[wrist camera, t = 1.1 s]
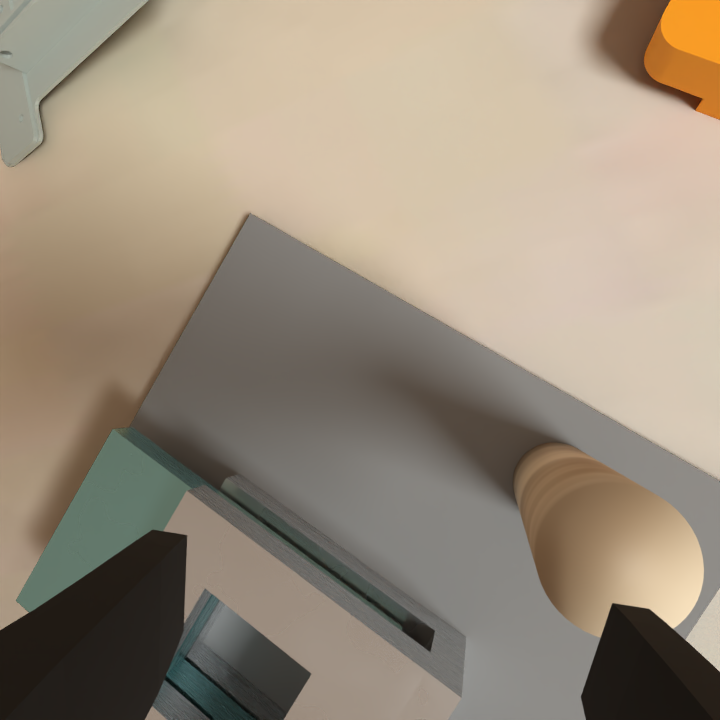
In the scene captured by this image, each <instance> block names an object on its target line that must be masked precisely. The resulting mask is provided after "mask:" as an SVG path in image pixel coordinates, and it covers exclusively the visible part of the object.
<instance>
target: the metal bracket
mask: <svg viewBox="0 0 720 720" xmlns="http://www.w3.org/2000/svg"><path fill="white" fill-rule="evenodd" d="M147 1H148V0H0V149H1V154H2V159H3V161H4V163H5V164H6V165H7V166H8V167H14V166H15V165H16V164H18V163H19V162H20V161H21V160H22V159H23V158H25V157H26V156H27V155H28V154H29V153H30V152H32V151H33V150H34V149H35V148H36V147H38V146H39V145H40V144H41V142H42V140H43V130H42V125H41V120H40V114H39V103H40V101H41V99H42V98H43V97H45V96H46V95H47V94H48V93H49V92H50V91H51V90H52V89H53V88H54V87H55V86H56V85H58V84H59V83H60V82H61V81H62V80H63V79H64V78H65V77H66V76H67V75H68V74H69V73H71V72H72V71H73V70H74V69H75V68H76V67H77V66H78V65H79V64H80V63H81V62H82V61H84V60H85V59H86V58H87V57H88V56H89V55H90V54H91V53H92V52H93V51H94V50H95V49H97V48H98V47H99V46H100V45H101V44H102V43H103V42H104V41H105V40H106V39H107V38H108V37H110V36H111V35H112V34H113V33H114V32H115V31H116V30H117V29H118V28H119V27H120V26H121V25H123V24H124V23H125V22H126V21H127V20H128V19H129V18H130V17H131V16H132V15H133V14H134V13H136V12H137V11H138V10H139V9H140V8H141V7H142V6H143V5H144V4H145V3H146V2H147Z"/></svg>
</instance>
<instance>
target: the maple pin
mask: <svg viewBox="0 0 720 720" xmlns="http://www.w3.org/2000/svg"><path fill="white" fill-rule="evenodd" d="M513 490H514V494H515V498H516V501H517V504H518V508H519V511H520V515H521V518H522V522H523V525H524V528H525V532H526V535H527V539H528V542H529V545H530V549H531V552H532V556H533V559H534V563H535V566H536V569H537V573H538V576H539V579H540V582H541V585H542V587H543V589H544V591H545V593H546V595H547V596H548V598H549V600H550V601H551V603H552V604H553V605H554V606H555V608H556V609H557V610H558V611H559V612H560V613H561V614H562V615H563V616H564V617H565V618H566V619H567V620H569V621H570V622H571V623H572V624H574V625H575V626H577V627H578V628H580V629H582V630H583V631H585V632H587V633H590V634H592V635H594V636H597V637H600V638H601V635H602V632H603V629H604V626H605V623H606V620H607V617H608V614H609V611H610V608H611V605H612V603H616V604H622V605H629V606H635V607H641V608H648V609H650V610H651V611H653V612H654V613H655V614H656V615H657V616H659V617H660V618H661V619H662V620H663V621H665V622H666V623H667V624H668V625H669V626H670V627H671V628H675V627H676V626H678V625H679V624H680V623H681V622H682V621H683V620H684V619H685V618H686V617H687V616H688V615H689V613H690V612H691V611H692V609H693V608H694V606H695V604H696V602H697V600H698V598H699V595H700V592H701V589H702V584H703V578H704V564H703V556H702V552H701V548H700V545H699V542H698V540H697V537H696V535H695V534H694V532H693V530H692V528H691V527H690V525H689V524H688V522H687V521H686V519H685V518H684V517H683V516H682V515H681V514H680V513H679V512H678V510H676V509H675V508H674V507H673V506H672V505H671V504H669V503H668V502H667V501H665V500H664V499H662V498H661V497H659V496H658V495H656V494H654V493H653V492H651V491H649V490H647V489H646V488H644V487H642V486H641V485H639V484H637V483H635V482H634V481H632V480H630V479H629V478H627V477H625V476H623V475H622V474H620V473H618V472H617V471H615V470H613V469H611V468H610V467H608V466H606V465H605V464H603V463H601V462H599V461H598V460H596V459H594V458H593V457H591V456H589V455H587V454H586V453H584V452H582V451H581V450H579V449H577V448H575V447H573V446H570V445H568V444H563V443H545V444H541V445H538V446H536V447H534V448H532V449H530V450H529V451H528V452H526V453H525V454H524V455H523V456H522V457H521V459H520V460H519V462H518V464H517V465H516V468H515V471H514V475H513Z"/></svg>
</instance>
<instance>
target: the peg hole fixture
mask: <svg viewBox="0 0 720 720" xmlns="http://www.w3.org/2000/svg"><path fill="white" fill-rule="evenodd" d="M151 530H159V531H165V532H171V533H177V534H184V535H187V557H186V582H185V608H184V631H183V634H182V636H181V639H180V642H179V644H178V647H177V649H176V652H175V654H174V657H173V659H172V662H171V664H170V667H169V669H168V672H167V674H166V677H165V679H164V681H163V684H162V686H161V689H160V691H159V693H158V695H157V697H156V699H155V701H154V703H153V705H152V707H151V709H150V711H149V713H148V715H147V717H146V718H145V720H448V719H449V717H450V715H451V714H452V712H453V711H454V709H455V708H456V706H457V705H458V703H459V701H460V700H461V698H462V687H463V674H464V661H465V649H466V636H464V635H463V634H462V633H460V632H459V631H457V630H456V629H455V628H453V627H452V626H450V625H449V624H448V623H446V622H445V621H444V620H442V619H441V618H439V617H438V616H437V615H435V614H434V613H432V612H431V611H430V610H428V609H427V608H426V607H424V606H423V605H421V604H420V603H419V602H417V601H416V600H414V599H413V598H412V597H410V596H409V595H408V594H406V593H405V592H403V591H402V590H401V589H399V588H398V587H396V586H395V585H394V584H392V583H391V582H390V581H388V580H387V579H385V578H384V577H383V576H381V575H380V574H378V573H377V572H376V571H374V570H373V569H372V568H370V567H369V566H367V565H366V564H365V563H363V562H362V561H360V560H359V559H358V558H356V557H355V556H354V555H352V554H351V553H349V552H348V551H347V550H345V549H344V548H342V547H341V546H340V545H338V544H337V543H336V542H334V541H333V540H331V539H330V538H329V537H327V536H326V535H324V534H323V533H322V532H320V531H319V530H317V529H316V528H315V527H313V526H312V525H311V524H309V523H308V522H306V521H305V520H304V519H302V518H301V517H299V516H298V515H297V514H295V513H294V512H293V511H291V510H290V509H288V508H287V507H286V506H284V505H283V504H281V503H280V502H279V501H277V500H276V499H275V498H273V497H272V496H270V495H269V494H268V493H266V492H265V491H263V490H262V489H261V488H259V487H258V486H257V485H255V484H254V483H252V482H251V481H250V480H248V479H247V478H245V477H244V476H243V475H241V474H237V475H234V476H231V477H228V478H226V479H225V481H224V483H223V484H222V486H221V488H220V489H219V491H218V490H217V489H216V488H214V487H213V486H212V485H210V484H209V483H208V482H206V481H205V480H204V479H202V478H201V477H200V476H198V475H197V474H195V473H194V472H193V471H191V470H190V469H189V468H187V467H186V466H185V465H183V464H182V463H181V462H179V461H178V460H177V459H175V458H174V457H173V456H171V455H170V454H168V453H167V452H166V451H164V450H163V449H162V448H160V447H159V446H158V445H156V444H155V443H154V442H152V441H151V440H150V439H148V438H147V437H146V436H144V435H143V434H141V433H140V432H139V431H137V430H136V429H135V428H133V427H129V428H119V429H112V431H111V433H110V435H109V437H108V438H107V440H106V442H105V444H104V445H103V447H102V449H101V451H100V452H99V454H98V456H97V458H96V460H95V461H94V463H93V465H92V467H91V468H90V470H89V472H88V474H87V476H86V477H85V479H84V481H83V483H82V484H81V486H80V488H79V490H78V491H77V493H76V495H75V497H74V499H73V500H72V502H71V504H70V506H69V507H68V509H67V511H66V513H65V514H64V516H63V518H62V520H61V522H60V523H59V525H58V527H57V529H56V530H55V532H54V534H53V536H52V537H51V539H50V541H49V543H48V545H47V546H46V548H45V550H44V552H43V553H42V555H41V557H40V559H39V561H38V562H37V564H36V566H35V568H34V569H33V571H32V573H31V575H30V576H29V578H28V580H27V582H26V584H25V585H24V587H23V589H22V591H21V592H20V594H19V596H18V598H17V599H16V601H17V602H18V603H19V604H20V605H21V606H22V607H23V608H25V609H26V610H27V611H28V612H31V611H33V610H34V609H36V608H37V607H39V606H40V605H42V604H43V603H45V602H46V601H48V600H49V599H51V598H52V597H54V596H55V595H57V594H58V593H60V592H61V591H63V590H64V589H66V588H67V587H69V586H70V585H72V584H73V583H75V582H76V581H78V580H79V579H81V578H82V577H84V576H85V575H87V574H88V573H90V572H91V571H93V570H94V569H95V568H97V567H98V566H100V565H101V564H103V563H104V562H106V561H107V560H108V559H110V558H111V557H113V556H114V555H116V554H117V553H119V552H120V551H122V550H123V549H124V548H126V547H127V546H129V545H130V544H132V543H133V542H135V541H136V540H138V539H139V538H141V537H142V536H144V535H145V534H147V533H148V532H150V531H151ZM225 605H227V606H228V607H229V608H230V609H232V610H233V611H234V612H235V613H237V614H238V615H239V616H240V617H242V618H243V619H244V620H245V621H247V622H248V623H249V624H250V625H251V626H253V627H254V628H255V629H256V630H258V631H259V632H260V633H261V634H263V635H264V636H265V637H266V638H268V639H269V640H270V641H271V642H273V643H274V644H275V645H276V646H278V647H279V648H280V649H281V650H283V651H284V652H285V653H286V654H288V655H289V656H290V657H291V658H293V659H294V660H295V661H296V662H298V663H299V664H300V665H301V666H303V667H304V668H305V669H306V670H308V671H309V672H310V673H311V676H310V678H309V679H308V681H307V682H306V684H305V686H304V687H303V689H302V691H301V692H300V694H299V695H298V697H297V699H296V700H295V702H294V704H293V705H292V707H291V708H290V710H289V712H288V713H287V712H286V711H285V710H283V709H282V708H281V707H280V706H279V705H278V704H276V703H275V702H274V701H273V700H272V699H270V698H269V697H268V696H267V695H266V694H264V693H263V692H262V691H261V690H260V689H258V688H257V687H256V686H255V685H254V684H252V683H251V682H250V681H249V680H248V679H246V678H245V677H244V676H243V675H242V674H240V673H239V672H238V671H237V670H236V669H234V668H233V667H232V666H231V665H230V664H228V663H227V662H226V661H225V660H224V659H222V658H221V657H220V656H219V655H218V654H216V653H215V652H214V651H213V650H212V649H210V648H209V647H208V646H207V645H206V644H204V643H203V641H204V639H205V638H206V636H207V634H208V633H209V631H210V629H211V628H212V626H213V624H214V622H215V621H216V619H217V617H218V616H219V614H220V612H221V611H222V609H223V607H224V606H225Z"/></svg>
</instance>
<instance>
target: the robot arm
mask: <svg viewBox="0 0 720 720" xmlns="http://www.w3.org/2000/svg"><path fill="white" fill-rule="evenodd" d="M186 557H187V535H184V534H177V533H171V532H165V531H159V530H151V531H150V532H148V533H147V534H145V535H144V536H142V537H141V538H139V539H138V540H136V541H135V542H133V543H132V544H130V545H129V546H127V547H126V548H124V549H123V550H122V551H120V552H119V553H117V554H116V555H114V556H113V557H111V558H110V559H108V560H107V561H106V562H104V563H103V564H101V565H100V566H98V567H97V568H95V569H94V570H93V571H91V572H90V573H88V574H87V575H85V576H84V577H82V578H81V579H79V580H78V581H76V582H75V583H73V584H72V585H70V586H69V587H67V588H66V589H64V590H63V591H61V592H60V593H58V594H57V595H55V596H54V597H52V598H51V599H49V600H48V601H46V602H45V603H43V604H42V605H40V606H39V607H37V608H36V609H34V610H33V611H31V612H29V613H28V614H26V615H25V616H23V617H21V618H20V619H18V620H16V621H15V622H13V623H12V624H10V625H8V626H7V627H5V628H3V629H2V630H0V720H145V718H146V717H147V715H148V713H149V711H150V709H151V707H152V705H153V703H154V701H155V699H156V697H157V695H158V693H159V691H160V689H161V686H162V684H163V681H164V679H165V677H166V674H167V672H168V669H169V667H170V664H171V662H172V659H173V657H174V654H175V652H176V649H177V647H178V644H179V642H180V639H181V636H182V634H183V631H184V608H185V582H186ZM581 700H582V705H583V709H584V714H585V718H586V720H720V672H719V671H718V670H717V669H716V668H715V667H714V666H713V665H712V664H711V663H710V662H709V661H708V660H706V659H705V658H704V657H703V656H702V655H701V654H700V653H699V652H698V651H697V650H696V649H695V648H693V647H692V646H691V645H690V644H689V643H688V642H687V641H686V640H685V639H684V638H683V637H681V636H680V635H679V634H678V633H677V632H676V631H675V630H674V629H673V628H671V627H670V626H669V625H668V624H667V623H666V622H665V621H663V620H662V619H661V618H660V617H659V616H657V615H656V614H655V613H654V612H653V611H651V610H650V609H648V608H641V607H635V606H629V605H622V604H616V603H612V605H611V608H610V611H609V614H608V617H607V620H606V623H605V626H604V629H603V632H602V635H601V638H600V641H599V644H598V647H597V650H596V653H595V656H594V659H593V662H592V665H591V668H590V671H589V674H588V677H587V680H586V683H585V686H584V689H583V692H582V695H581Z"/></svg>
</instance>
